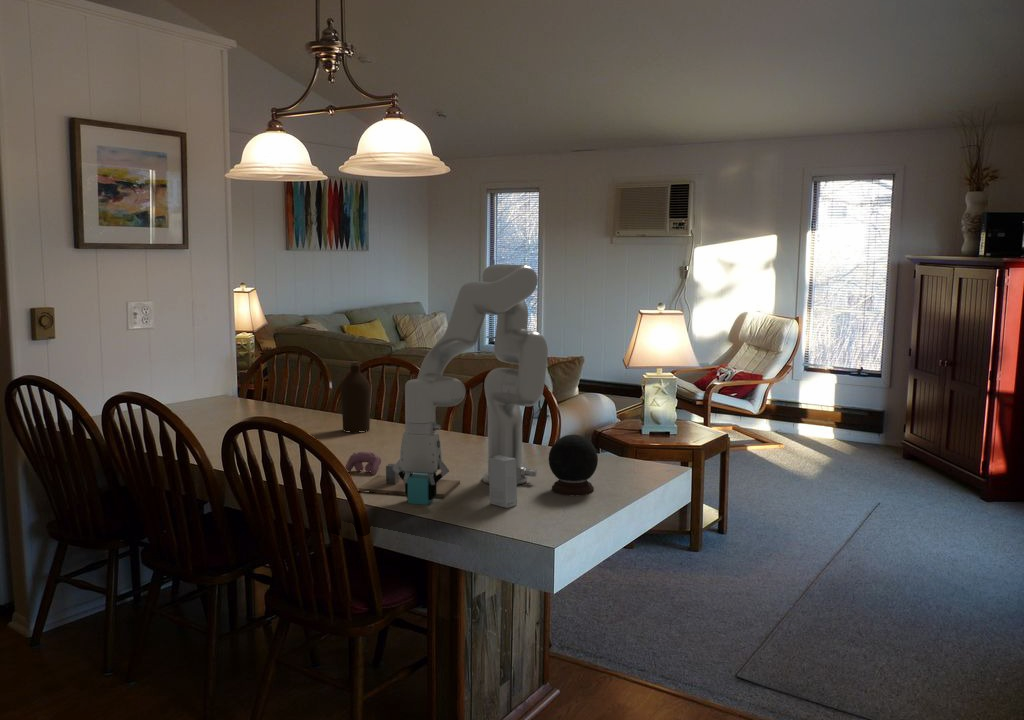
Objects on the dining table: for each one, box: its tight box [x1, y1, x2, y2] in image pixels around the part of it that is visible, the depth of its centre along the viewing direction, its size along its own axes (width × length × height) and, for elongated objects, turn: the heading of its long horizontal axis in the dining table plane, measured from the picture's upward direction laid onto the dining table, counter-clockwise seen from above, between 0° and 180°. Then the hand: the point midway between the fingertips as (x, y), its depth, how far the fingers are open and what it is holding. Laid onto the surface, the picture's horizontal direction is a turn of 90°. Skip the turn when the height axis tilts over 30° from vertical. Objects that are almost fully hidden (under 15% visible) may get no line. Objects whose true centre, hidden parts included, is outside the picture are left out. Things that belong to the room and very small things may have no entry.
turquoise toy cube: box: [407, 473, 434, 506], centre depth 214 cm, size 5×5×7 cm
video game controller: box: [344, 451, 382, 475], centre depth 244 cm, size 10×5×7 cm, turn 75°
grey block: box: [385, 463, 400, 485], centre depth 228 cm, size 3×3×5 cm
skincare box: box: [488, 455, 518, 509], centre depth 211 cm, size 6×4×12 cm
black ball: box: [548, 434, 599, 497], centre depth 225 cm, size 13×13×15 cm
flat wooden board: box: [357, 473, 461, 499], centre depth 227 cm, size 24×14×6 cm, turn 77°
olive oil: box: [340, 360, 372, 432], centre depth 301 cm, size 11×11×25 cm
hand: (420, 497), depth 215 cm, fingers closed on turquoise toy cube, 5 cm apart
